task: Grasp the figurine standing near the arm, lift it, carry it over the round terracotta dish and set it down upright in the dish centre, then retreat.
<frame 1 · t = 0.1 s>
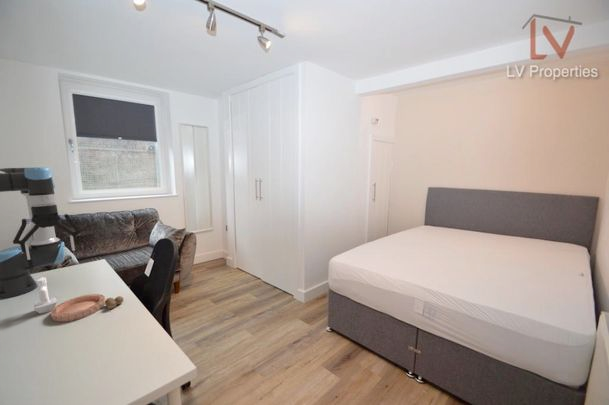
hand: (52, 254, 109), 28 cm above the table, fingers open, 13 cm apart
figurine: (46, 310, 117), on the table
wooden beads: (113, 305, 119), on the table
dish: (80, 309, 116), on the table
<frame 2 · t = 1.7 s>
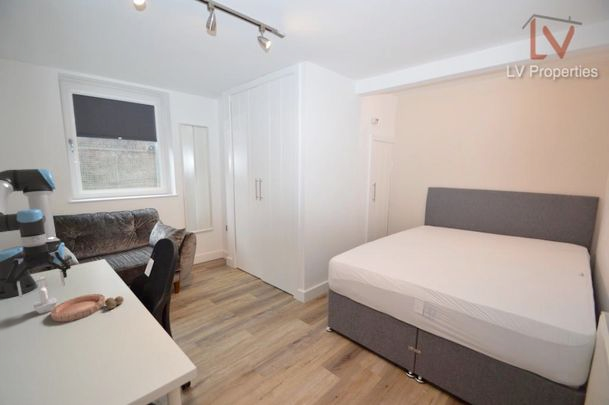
hand: (43, 290, 115), 10 cm above the table, fingers open, 13 cm apart
nothing on the table moved.
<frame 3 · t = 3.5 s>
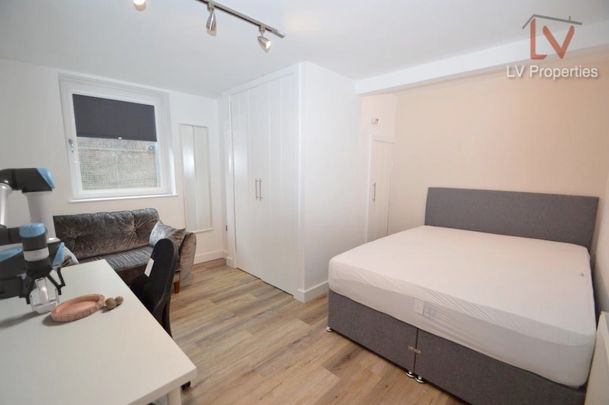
hand: (46, 306, 117), 2 cm above the table, fingers closed on figurine, 7 cm apart
figurine: (46, 310, 117), on the table, touching gripper
everything else where it was.
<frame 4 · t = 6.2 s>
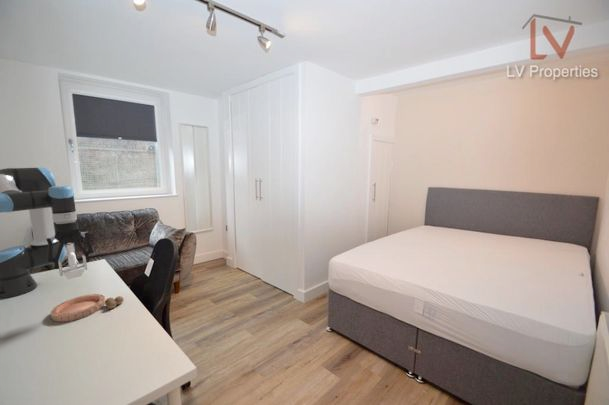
hand: (74, 272, 114), 18 cm above the table, fingers closed on figurine, 7 cm apart
figurine: (74, 276, 114), point 16 cm above the table, touching gripper
everything else where it was.
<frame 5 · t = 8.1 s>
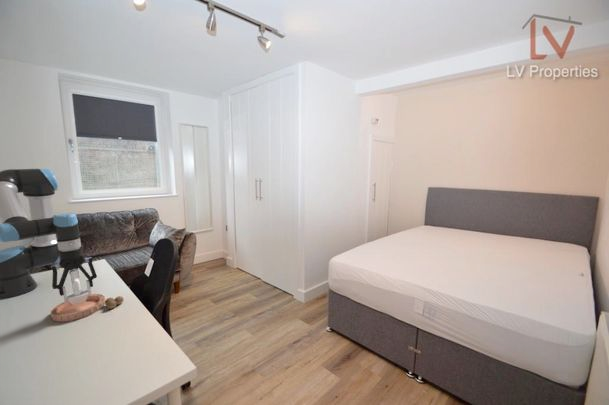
hand: (78, 297, 116), 6 cm above the table, fingers closed on figurine, 7 cm apart
figurine: (78, 301, 116), point 4 cm above the table, touching gripper
everything else where it was.
when the fingers open (4 cm above the table, at t = 9.4 s): figurine drops 2 cm, resting on dish.
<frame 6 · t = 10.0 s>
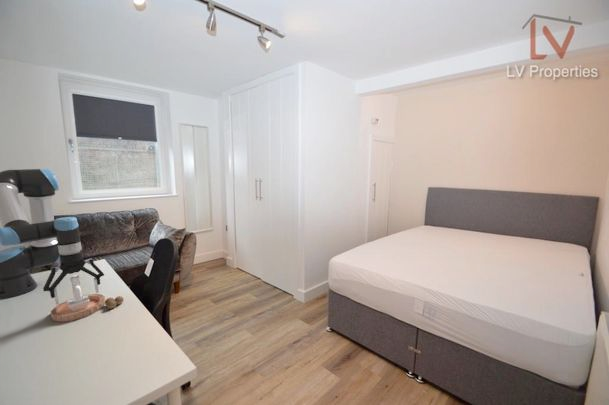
hand: (78, 297, 116), 6 cm above the table, fingers open, 13 cm apart
figurine: (79, 308, 116), point 1 cm above the table, touching dish
everything else where it was.
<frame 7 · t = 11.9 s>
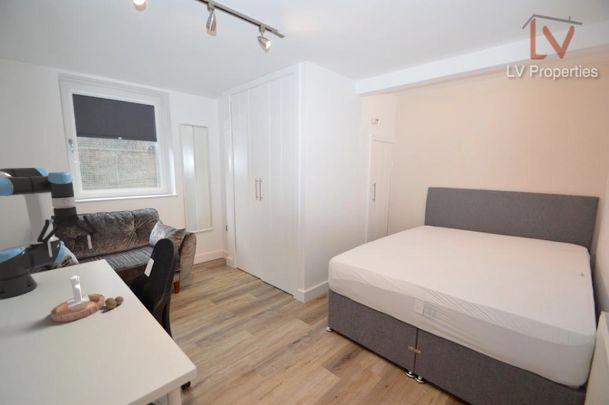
hand: (71, 252, 118), 26 cm above the table, fingers open, 13 cm apart
nothing on the table moved.
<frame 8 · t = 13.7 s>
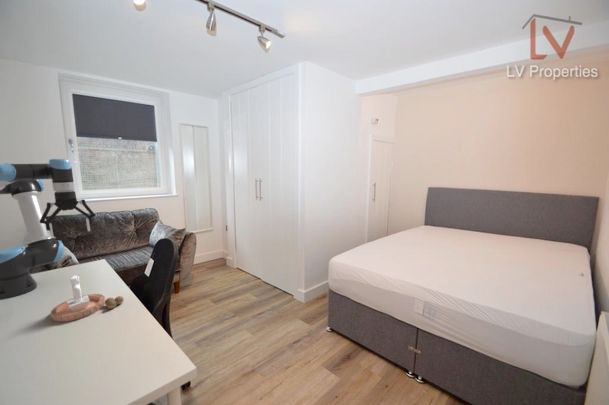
hand: (71, 233, 127), 32 cm above the table, fingers open, 13 cm apart
nothing on the table moved.
at the end: figurine 0.1 cm from the dish (horizontally); figurine touching dish; figurine tilted 0° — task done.
